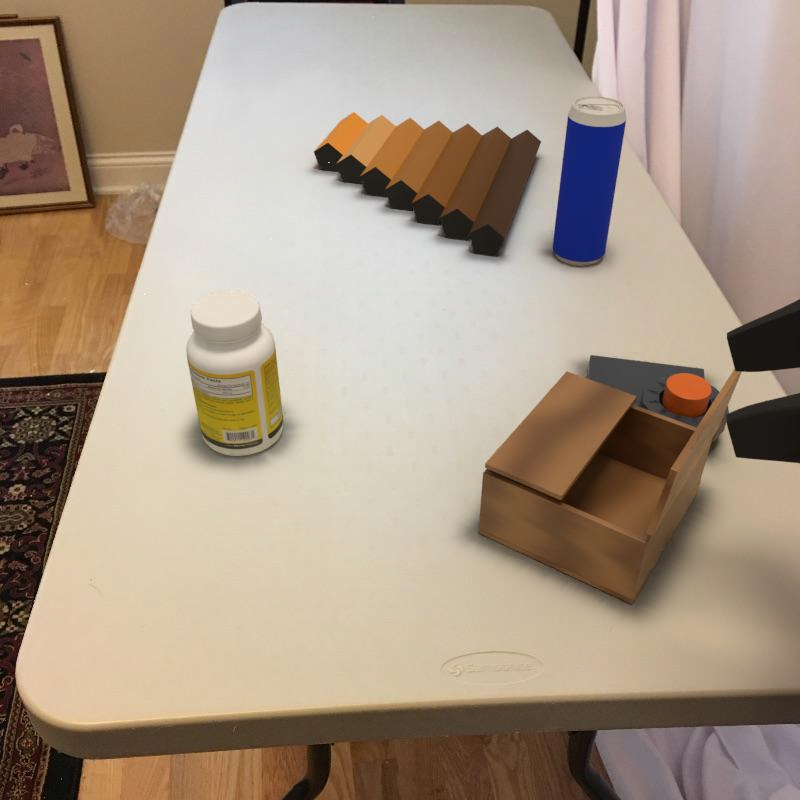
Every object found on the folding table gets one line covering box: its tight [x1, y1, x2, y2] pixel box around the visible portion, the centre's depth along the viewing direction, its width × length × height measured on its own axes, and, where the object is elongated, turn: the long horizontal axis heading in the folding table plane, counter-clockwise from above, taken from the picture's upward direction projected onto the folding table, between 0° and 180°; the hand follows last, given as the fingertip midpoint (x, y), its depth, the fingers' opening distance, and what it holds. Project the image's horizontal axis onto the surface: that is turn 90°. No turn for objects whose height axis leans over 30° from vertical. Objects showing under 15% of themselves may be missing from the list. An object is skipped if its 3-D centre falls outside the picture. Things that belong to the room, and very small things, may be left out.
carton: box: [478, 370, 713, 605], centre depth 60 cm, size 11×12×6 cm
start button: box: [662, 373, 712, 418], centre depth 66 cm, size 3×3×2 cm
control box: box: [586, 354, 730, 443], centre depth 69 cm, size 10×10×3 cm
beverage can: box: [551, 96, 627, 267], centre depth 85 cm, size 5×5×15 cm
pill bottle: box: [185, 289, 284, 457], centre depth 65 cm, size 6×6×11 cm
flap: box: [647, 368, 742, 536], centre depth 54 cm, size 5×12×1 cm
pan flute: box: [313, 111, 542, 257], centre depth 100 cm, size 25×3×25 cm
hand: (730, 391), depth 44 cm, fingers open, 7 cm apart
